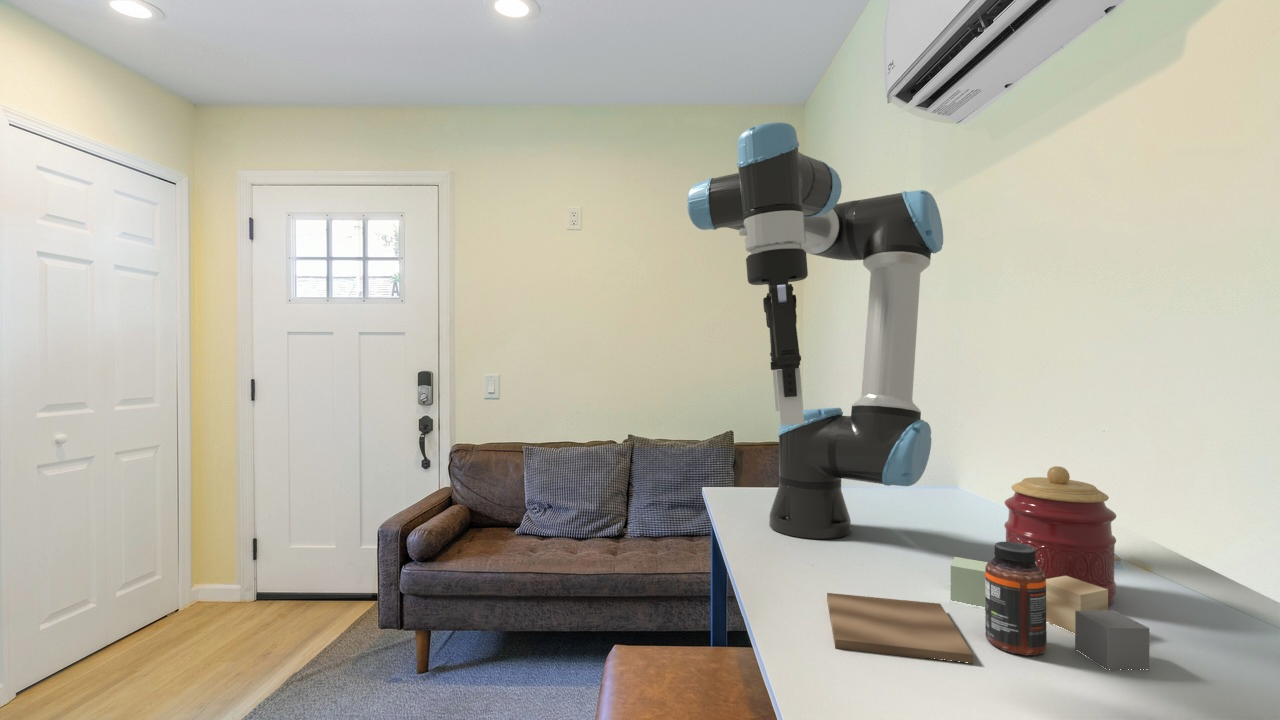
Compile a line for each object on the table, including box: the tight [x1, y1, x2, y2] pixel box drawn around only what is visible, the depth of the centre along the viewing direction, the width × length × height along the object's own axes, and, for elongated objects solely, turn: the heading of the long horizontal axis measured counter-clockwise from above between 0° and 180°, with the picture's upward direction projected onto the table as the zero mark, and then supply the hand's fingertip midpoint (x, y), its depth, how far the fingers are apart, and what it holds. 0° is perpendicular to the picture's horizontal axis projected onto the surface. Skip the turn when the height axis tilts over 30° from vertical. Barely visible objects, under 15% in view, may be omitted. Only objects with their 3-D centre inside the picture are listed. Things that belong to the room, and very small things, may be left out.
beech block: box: [1046, 576, 1109, 634], centre depth 74 cm, size 5×5×5 cm
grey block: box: [1074, 610, 1150, 671], centre depth 65 cm, size 4×4×4 cm
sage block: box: [950, 556, 989, 607], centre depth 81 cm, size 4×4×5 cm
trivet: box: [826, 592, 974, 664], centre depth 72 cm, size 14×14×1 cm
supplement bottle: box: [984, 541, 1048, 656], centre depth 68 cm, size 6×6×11 cm
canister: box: [1004, 466, 1117, 606], centre depth 85 cm, size 13×13×18 cm
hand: (788, 416), depth 77 cm, fingers open, 13 cm apart
